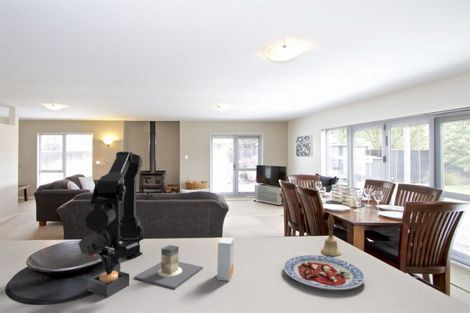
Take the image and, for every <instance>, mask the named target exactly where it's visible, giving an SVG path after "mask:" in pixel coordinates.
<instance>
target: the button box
mask: <svg viewBox="0 0 470 313" xmlns="http://www.w3.org/2000/svg"><path fill="white" fill-rule="evenodd" d="M113 271H116V272H118V278H117V279H115V280H113V281H111V282H109V283H106V282H102V281H100V275H101V274H102V273H104V272H106V271H105V270H104V271H103V272H101V273H99V274H96V275H94V276H92V277H91V278H90V277H89V278H88V279H87V284H86V285H87V289H89V290H91V291H92V293H91V294H94V295H97V296H100V297H103V298H106V299H108V298H110V297H111V296H113V295H115V294H116V293H118V292H120V291H121V290H124V289H126V288H127V287H129V286H130V273H128V272H125V271H124V272H123V271H120V270H116V269H113ZM87 289H86V290H87Z"/></svg>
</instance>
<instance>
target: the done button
mask: <svg viewBox="0 0 470 313" xmlns="http://www.w3.org/2000/svg"><path fill="white" fill-rule="evenodd" d="M103 272H104V273H103ZM103 272H101V273H102V274H101V273H100V274H101V275H100V281H102V282H106V283H109V282H111V281H113V280H115V279H117V278H118V272H116V271H112V273H111V274H109V275H108V274H106V272H105V271H103Z"/></svg>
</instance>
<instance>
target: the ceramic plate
mask: <svg viewBox="0 0 470 313" xmlns="http://www.w3.org/2000/svg"><path fill="white" fill-rule="evenodd" d="M283 263H284V264H283V270H284V272H285V273H286V274H287V276H289V277H290V278H291V279H293V280H295V281H297V282H299V283H300V284H304V285H306V286H310V287H313V288H318V289H324V290H334V291H342V290H351V289H355V288H357V287H360V286H362V285H363V284H364V282H365V278H366V277H365V274H364V272H363V271H362V270H361V269H360V268H359V267H357V266H355V265H354V264H352V263H349V262H347V261H345V260H342V259H338V258H334V257H331V256H327V255H326V256H324V255H317V254H316V255H315V254H313V255H312V254H311V255H310V254H308V255H307V254H306V255H298V256H293V257H291V258H288V259H287V260H286V261H285V262H283Z"/></svg>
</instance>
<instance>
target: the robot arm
mask: <svg viewBox="0 0 470 313" xmlns="http://www.w3.org/2000/svg"><path fill="white" fill-rule="evenodd" d="M142 167H143V158H142V157H141V155H139V154H135V153H133V152H131V151H117V152H116V154H115V159H114V161H113V163H112V166H111V167H110V169H109V171H108V172H107V173H106V174H104V175H101V177H100V178H99V180H97V181H96V183H95V185H94V188H93V191H92V196H91V199H90V203H89V204H90V206H93V210H90V211H89V212H88V213H87V214H86V217H85V220H84V222H85V225H86V227H87V229H89V230H91V231H93V233H92V234H89V235H87V236H86V237H83V238H82V239H81V240H80V241H79V242H78V247H79V249H80V252H81V254H83V255H88V256H89V257H90V256H93V255H95V256H98V257H99V259H100V260H101V263H102V266H103V268H104V272H105V271H106V274H108V275H109V274H111V273H112V271H113V270H115V267H116V265H117V262H118V260H119V259H120V258H121V259H128V260H132V259H134V258H136V257H139V256H140V255H143V251H142V252H141V243H140V242H141V241H143V240H144V237H145V236H144V229H143V228H142V225H141V220H140V218H139V216H138V215H137V177H138V176H139V173H140V172H141V170H142ZM122 202H123V207H122V208H123V209H122V210H123V213H122V214H123V215H122V218H121V204H122Z"/></svg>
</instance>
